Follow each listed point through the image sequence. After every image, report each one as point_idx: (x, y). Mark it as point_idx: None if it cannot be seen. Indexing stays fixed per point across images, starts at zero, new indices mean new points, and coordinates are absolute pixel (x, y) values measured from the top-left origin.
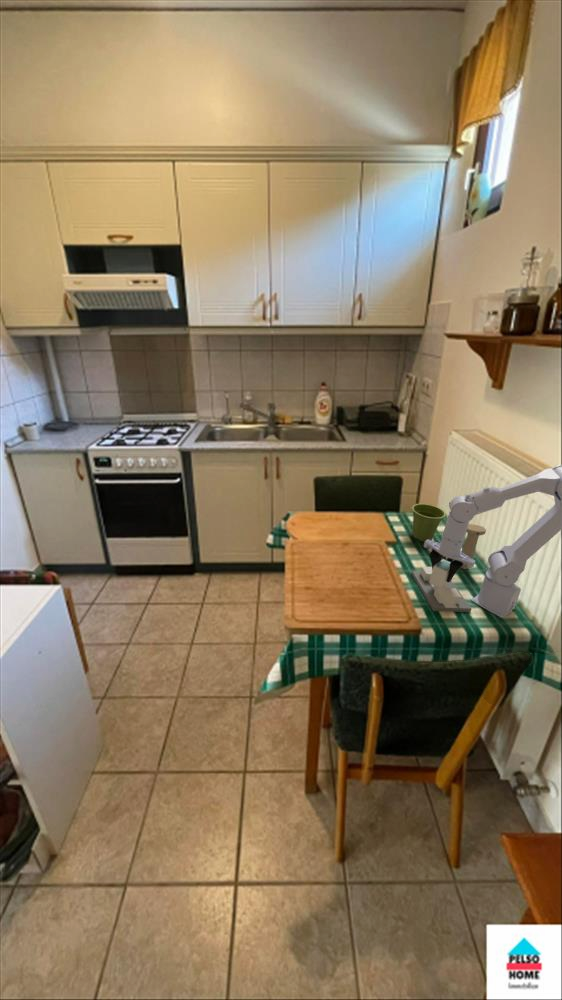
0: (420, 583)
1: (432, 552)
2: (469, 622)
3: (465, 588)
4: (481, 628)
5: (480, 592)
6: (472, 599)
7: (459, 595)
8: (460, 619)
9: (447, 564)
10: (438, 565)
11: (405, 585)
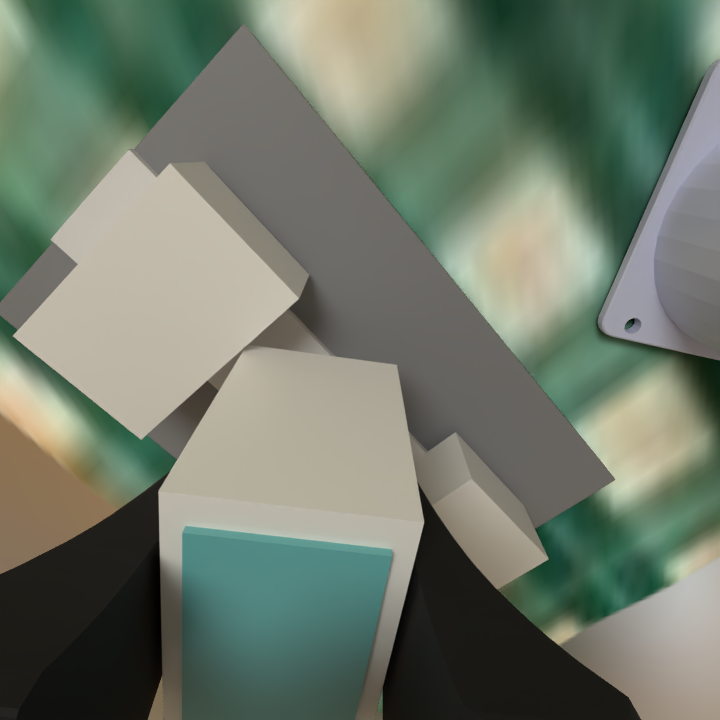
0: (171, 447)
1: None
2: (601, 558)
3: (519, 137)
4: (677, 562)
5: (715, 320)
6: (608, 322)
7: (527, 554)
8: (545, 567)
9: (298, 611)
10: (207, 714)
11: (101, 482)
